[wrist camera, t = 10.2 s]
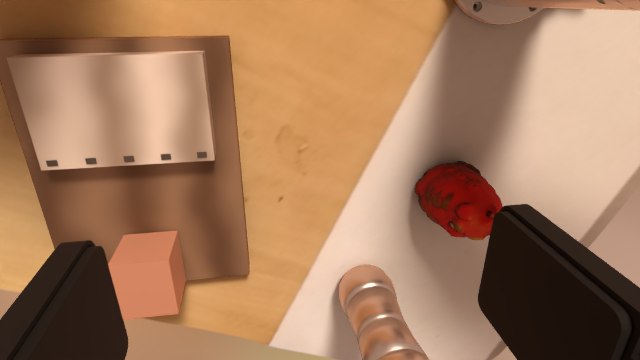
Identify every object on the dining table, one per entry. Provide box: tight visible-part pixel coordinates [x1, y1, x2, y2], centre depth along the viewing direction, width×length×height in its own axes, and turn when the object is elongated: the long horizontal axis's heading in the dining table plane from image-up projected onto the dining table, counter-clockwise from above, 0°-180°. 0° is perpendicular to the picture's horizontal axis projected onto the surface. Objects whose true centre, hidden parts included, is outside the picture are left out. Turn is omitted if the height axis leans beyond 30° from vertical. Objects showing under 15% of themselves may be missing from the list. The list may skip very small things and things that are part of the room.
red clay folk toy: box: [415, 161, 502, 240], centre depth 38 cm, size 8×7×15 cm
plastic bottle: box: [339, 265, 430, 360], centre depth 40 cm, size 6×7×20 cm
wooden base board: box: [0, 36, 249, 280], centre depth 37 cm, size 18×24×4 cm
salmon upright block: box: [108, 231, 186, 320], centre depth 38 cm, size 5×6×5 cm
